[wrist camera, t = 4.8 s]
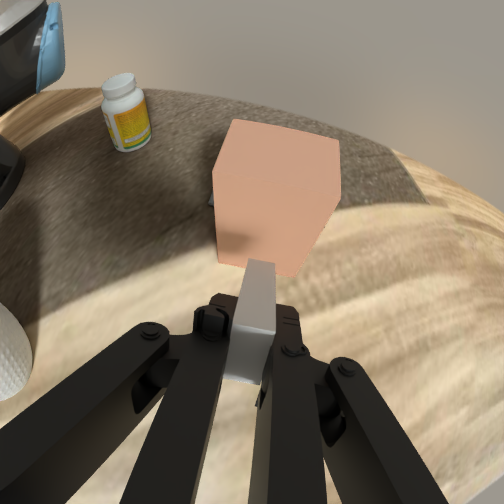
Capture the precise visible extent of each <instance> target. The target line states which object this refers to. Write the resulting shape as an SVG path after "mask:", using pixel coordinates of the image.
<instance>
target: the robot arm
mask: <svg viewBox="0 0 504 504" xmlns="http://www.w3.org/2000/svg"><path fill="white" fill-rule="evenodd" d="M64 70H65V50H64V36H63V24H62V13H61V7H60V3H59V2H55V3H51V4H49V5H47V2H46V0H0V117H1V116H3V115H4V114H5V113H7V112H8V111H10V110H11V109H12V108H14V107H15V106H17V105H18V104H20V103H21V102H23V101H25V100H26V99H28V98H29V97H31V96H33V95H34V94H39V93H40V91H41V90H43V89H44V88H46V87H47V86H49V85H51V84H53V83H54V82H56V81H57V80H59V79H60V77H61V76H62V75H63V73H64ZM24 165H25V159H24V156H23V155H22V153H21V151H20V150H19V148H18V147H17V146H16V145H14V144H13V143H12V142H10V141H9V140H7V139H6V138H5V137H3V136H2V135H0V209H1V208H2V207H3V206H4V204H5V203H6V202H7V200H8V199H9V198H10V196H11V195H12V193H13V191H14V190H15V188H16V186H17V184H18V182H19V180H20V178H21V176H22V173H23V170H24ZM223 378H224V379H229V380H234V381H239V382H245V383H250V384H256V385H260V383H261V380H262V384H261V388H260V392H259V395H258V398H257V401H256V404H255V406H256V407H257V417H256V428H255V439H254V449H253V460H252V470H251V479H250V489H249V498H248V504H327V493H326V481H325V470H324V460H325V462H326V465H327V467H328V470H329V472H330V475H331V477H332V480H333V482H334V485H335V487H336V490H337V492H338V495H339V497H340V500H341V502H342V504H449V503H448V502H447V500H446V498H445V496H444V495H443V493H442V491H441V490H440V488H439V486H438V485H437V483H436V481H435V480H434V478H433V476H432V475H431V473H430V471H429V470H428V468H427V467H426V465H425V463H424V462H423V460H422V458H421V457H420V455H419V454H418V452H417V450H416V449H415V447H414V446H413V444H412V442H411V441H410V439H409V438H408V436H407V435H406V433H405V431H404V430H403V428H402V427H401V425H400V424H399V422H398V421H397V419H396V417H395V416H394V414H393V413H392V411H391V410H390V408H389V407H388V405H387V404H386V402H385V401H384V399H383V398H382V396H381V395H380V393H379V392H378V390H377V389H376V387H375V386H374V384H373V383H372V381H371V380H370V378H369V377H368V375H367V374H366V372H365V371H364V369H363V368H362V366H361V365H360V364H359V363H358V362H356V361H354V360H353V359H349V358H346V357H338V358H334V359H333V360H332V361H331V362H330V364H327V363H324V362H322V361H319V360H316V359H314V358H313V357H311V356H310V352H309V350H308V348H307V347H306V346H305V345H304V344H303V341H302V334H301V327H300V321H299V313H298V312H297V311H296V309H295V308H294V307H292V306H286V305H281V304H276V281H275V263H271V262H266V261H261V260H256V259H251V258H249V259H248V263H247V267H246V270H245V274H244V278H243V282H242V286H241V290H240V294H239V297H235V296H231V295H226V294H221V293H218V294H216V295H214V296H213V297H212V298H211V300H210V302H209V305H206V306H201V307H199V308H197V309H196V310H195V311H194V321H193V331H192V333H190V334H186V335H169V331H168V329H167V328H166V327H165V326H163V325H162V324H159V323H156V322H144V323H140V324H138V325H136V326H135V327H133V328H132V329H131V330H129V331H128V332H126V333H125V334H124V335H122V336H121V337H120V338H118V339H117V340H116V341H114V342H113V343H112V344H110V345H109V346H108V347H106V348H105V349H104V350H102V351H101V352H100V353H98V354H97V355H96V356H95V357H93V358H92V359H91V360H89V361H88V362H87V363H85V364H84V365H83V366H81V367H80V368H79V369H77V370H76V371H75V372H73V373H72V374H71V375H69V376H68V377H67V378H65V379H64V380H63V381H62V382H60V383H59V384H58V385H56V386H55V387H54V388H52V389H51V390H50V391H49V392H47V393H46V394H45V395H43V396H42V397H41V398H39V399H38V400H37V401H36V402H34V403H33V404H32V405H30V406H29V407H28V408H26V409H25V410H24V411H23V412H21V413H20V414H19V415H17V416H16V417H15V418H14V419H12V420H11V421H10V422H9V423H7V424H6V425H5V426H3V427H2V428H1V429H0V504H65V503H66V502H67V501H68V500H69V499H70V498H71V497H72V496H73V495H74V494H75V493H76V492H77V491H78V490H79V489H80V487H81V486H82V485H83V484H84V483H85V482H86V481H87V480H88V479H89V478H90V477H91V476H92V475H93V474H94V473H95V471H96V470H97V469H98V468H99V467H100V466H101V465H102V464H103V463H104V462H105V461H106V460H107V458H108V457H109V456H110V455H111V454H112V453H113V452H114V451H115V450H116V449H117V447H118V446H119V445H120V444H121V443H122V442H123V441H124V440H125V439H126V437H127V436H128V435H129V434H130V433H131V432H132V431H133V430H134V428H135V427H136V426H137V425H138V424H139V423H140V422H141V420H142V419H143V418H144V417H145V416H146V415H147V414H148V413H149V411H150V410H151V409H152V408H153V407H154V406H155V404H156V403H157V402H158V401H159V400H160V399H161V398H162V396H163V395H164V396H163V399H162V401H161V403H160V406H159V408H158V410H157V413H156V415H155V417H154V420H153V422H152V424H151V427H150V429H149V432H148V434H147V436H146V439H145V441H144V444H143V446H142V448H141V451H140V453H139V456H138V458H137V461H136V463H135V465H134V468H133V470H132V473H131V475H130V478H129V480H128V483H127V485H126V488H125V490H124V493H123V495H122V498H121V501H120V503H119V504H195V499H196V495H197V490H198V486H199V482H200V477H201V473H202V468H203V464H204V460H205V455H206V451H207V447H208V442H209V438H210V433H211V429H212V425H213V420H214V416H215V412H216V407H217V403H218V398H219V394H220V390H221V384H222V379H223ZM323 457H324V459H323Z"/></svg>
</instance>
